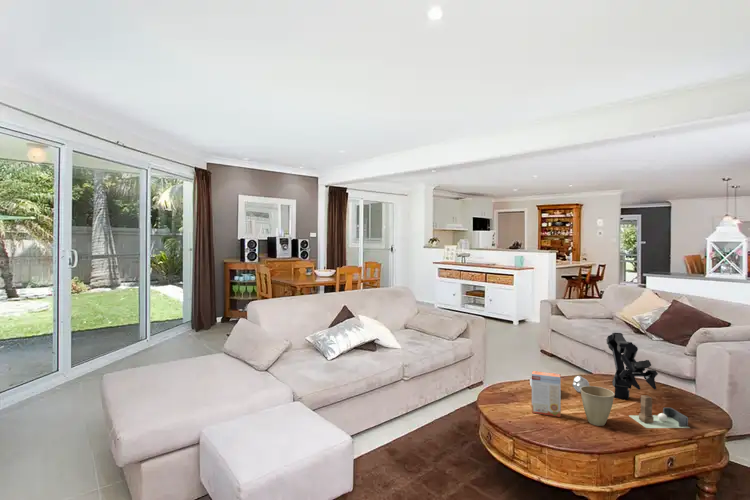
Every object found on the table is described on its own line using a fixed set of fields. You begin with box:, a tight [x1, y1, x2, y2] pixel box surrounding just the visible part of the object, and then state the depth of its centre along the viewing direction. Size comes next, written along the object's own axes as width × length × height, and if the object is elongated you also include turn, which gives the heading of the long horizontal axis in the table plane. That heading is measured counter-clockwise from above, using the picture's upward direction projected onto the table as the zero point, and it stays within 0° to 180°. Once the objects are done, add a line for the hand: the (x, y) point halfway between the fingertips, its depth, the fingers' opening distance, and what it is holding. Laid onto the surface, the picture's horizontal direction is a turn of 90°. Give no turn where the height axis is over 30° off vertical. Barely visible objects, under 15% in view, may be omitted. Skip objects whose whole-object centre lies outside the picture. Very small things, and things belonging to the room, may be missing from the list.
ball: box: [657, 412, 668, 422], centre depth 206 cm, size 4×4×4 cm
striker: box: [638, 394, 654, 423], centre depth 206 cm, size 4×4×12 cm
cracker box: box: [531, 370, 562, 418], centre depth 218 cm, size 14×6×21 cm, turn 65°
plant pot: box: [580, 385, 615, 427], centre depth 206 cm, size 15×15×16 cm
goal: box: [662, 407, 689, 427], centre depth 206 cm, size 4×12×4 cm, turn 0°
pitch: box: [628, 414, 691, 429], centre depth 206 cm, size 21×14×1 cm, turn 90°
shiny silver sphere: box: [572, 375, 590, 394], centre depth 247 cm, size 9×10×10 cm
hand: (647, 389), depth 212 cm, fingers open, 9 cm apart
